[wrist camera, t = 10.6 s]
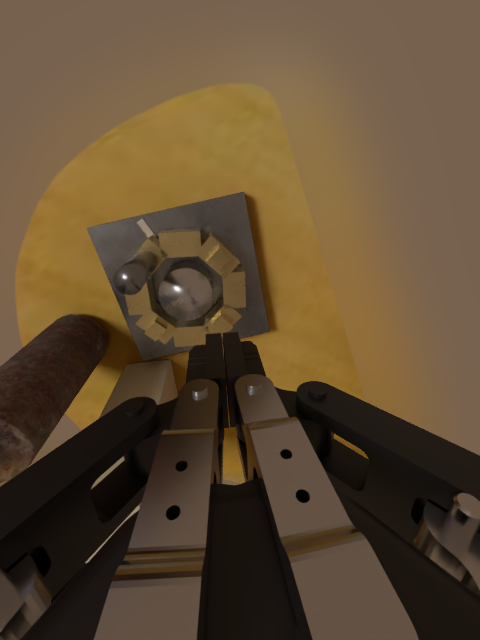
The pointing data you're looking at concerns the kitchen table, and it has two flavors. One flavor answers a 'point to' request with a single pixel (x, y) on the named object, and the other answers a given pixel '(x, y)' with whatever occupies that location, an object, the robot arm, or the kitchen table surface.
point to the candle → (44, 386)
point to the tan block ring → (153, 317)
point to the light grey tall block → (140, 382)
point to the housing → (186, 266)
